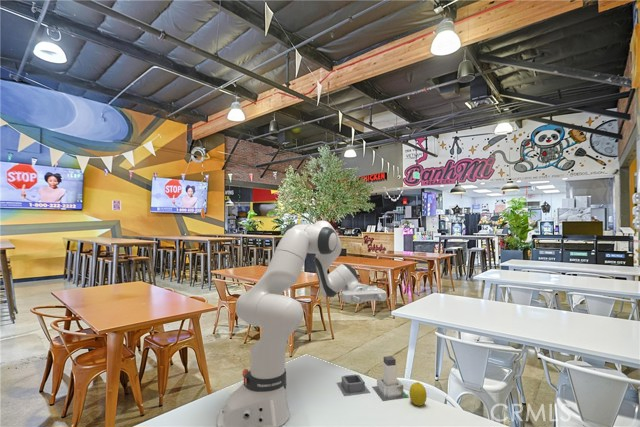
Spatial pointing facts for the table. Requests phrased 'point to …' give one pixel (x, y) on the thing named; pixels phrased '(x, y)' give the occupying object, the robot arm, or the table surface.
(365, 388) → the holster
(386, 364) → the plug
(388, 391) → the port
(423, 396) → the lemon
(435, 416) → the table surface
